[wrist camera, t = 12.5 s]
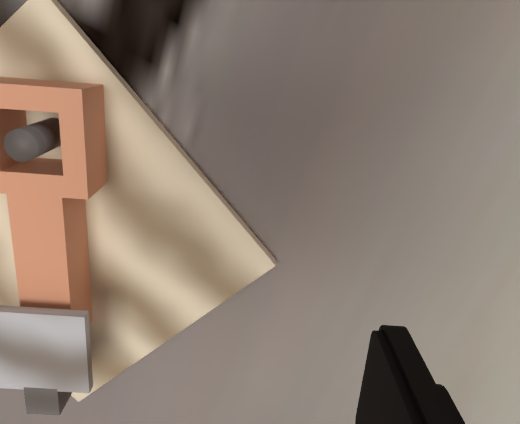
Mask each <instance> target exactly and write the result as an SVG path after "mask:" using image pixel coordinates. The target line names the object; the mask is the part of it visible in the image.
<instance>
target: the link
mask: <svg viewBox="0 0 520 424" xmlns="http://www.w3.org/2000/svg"><path fill="white" fill-rule="evenodd" d="M26 110H28V111H41V112H55V113H59V126H60V139H61V152H62V159H48V158H34V159H32V160H30V161H28V162H19V161H16V160H14V159H12V158H11V157H10V156H9V155H8V154H7V153H6V151H5V149H4V138H5V136H6V134H7V133H8V132H10V131H12V130H15V129H18V128H21V127H24V126H27V120H26ZM106 183H108V182H107V159H106V135H105V112H104V89H103V84H90V83H77V82H64V81H51V80H37V79H24V78H11V77H0V193H1V194H6V196H7V204H8V212H9V220H10V228H11V236H12V245H13V253H14V261H15V269H16V277H17V285H18V293H19V302H20V307H36V308H52V309H67V310H83V311H89V325H90V324H91V323H92V321H93V316H92V299H91V283H90V266H89V250H88V233H87V217H86V200H85V199H89V198H90V197H92V196H93V195H94V194H95V193H96V192H97V191H98V190H100V189H101V188H102V187H103V186H104V185H105V184H106Z"/></svg>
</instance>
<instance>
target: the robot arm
mask: <svg viewBox="0 0 520 424" xmlns="http://www.w3.org/2000/svg"><path fill="white" fill-rule="evenodd" d="M356 424H465V422H464V421H463V419H462V417H461V415H460V413H459V411H458V410H457V408H456V406H455V404H454V402H453V400H452V399H451V397H450V395H449V393H448V391H447V390H446V389H445V387H444V386H442V385H440V384H436V383H435V381H434V379H433V378H432V376H431V374H430V372H429V370H428V368H427V366H426V364H425V362H424V360H423V358H422V356H421V355H420V353H419V351H418V349H417V347H416V345H415V343H414V341H413V339H412V337H411V335H410V334H409V332H408V330H407V328H406V327H404V326H389V325H382V326H380V328H379V331H373V332H372V334H371V338H370V344H369V349H368V354H367V360H366V365H365V370H364V376H363V381H362V386H361V392H360V397H359V402H358V408H357V413H356Z"/></svg>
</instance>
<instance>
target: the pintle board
mask: <svg viewBox="0 0 520 424" xmlns="http://www.w3.org/2000/svg"><path fill="white" fill-rule="evenodd" d="M0 77H11V78H24V79H37V80H51V81H64V82H77V83H90V84H103V89H104V112H105V135H106V159H107V182H108V183H106V184H105V185H104V186H103V187H102V188H101V189H100V190H98V191H97V192H96V193H95V194H94V195H93V196H92V197H90V198H89V199H85V200H86V217H87V233H88V250H89V266H90V283H91V299H92V316H93V321H92V323H91V324H90V325H89V311H83V310H67V309H52V308H36V307H20V302H19V293H18V285H17V277H16V269H15V261H14V253H13V245H12V236H11V228H10V220H9V212H8V204H7V196H6V194H1V193H0V388H9V389H24V394H25V402H26V410H27V413H29V414H46V415H60V414H61V412H62V410H63V408H64V407H65V405H66V403H67V401H68V399H69V397H70V396H72V397H74V398H75V399H76V400H77V401H78V402H79V401H81V400H82V399H83V398H85V397H86V396H88V395H89V394H91V393H92V392H94V391H95V390H96V389H98V388H99V387H101V386H102V385H104V384H105V383H107V382H108V381H110V380H111V379H112V378H114V377H115V376H117V375H118V374H120V373H121V372H123V371H124V370H125V369H127V368H128V367H130V366H131V365H133V364H134V363H136V362H137V361H138V360H140V359H141V358H143V357H144V356H146V355H147V354H149V353H150V352H152V351H153V350H154V349H156V348H157V347H159V346H160V345H162V344H163V343H165V342H166V341H167V340H169V339H170V338H172V337H173V336H175V335H176V334H178V333H179V332H180V331H182V330H183V329H185V328H186V327H188V326H189V325H191V324H192V323H194V322H195V321H196V320H198V319H199V318H201V317H202V316H204V315H205V314H207V313H208V312H209V311H211V310H212V309H214V308H215V307H217V306H218V305H220V304H221V303H222V302H224V301H225V300H227V299H228V298H230V297H231V296H233V295H234V294H235V293H237V292H238V291H240V290H241V289H243V288H244V287H246V286H247V285H249V284H250V283H251V282H253V281H254V280H256V279H257V278H259V277H260V276H262V275H263V274H264V273H266V272H267V271H269V270H270V269H272V268H273V267H275V266H276V262H275V258H274V257H273V256H272V255H271V253H270V252H269V251H268V250H267V249H266V247H265V246H264V245H263V244H262V243H261V241H260V240H259V239H258V238H257V237H256V236H255V234H254V233H253V232H252V231H251V230H250V228H249V227H248V226H247V225H246V224H245V222H244V221H243V220H242V219H241V218H240V217H239V215H238V214H237V213H236V212H235V211H234V209H233V208H232V207H231V206H230V205H229V204H228V202H227V201H226V200H225V199H224V198H223V196H222V195H221V194H220V193H219V192H218V190H217V189H216V188H215V187H214V186H213V185H212V183H211V182H210V181H209V180H208V179H207V177H206V176H205V175H204V174H203V173H202V171H201V170H200V169H199V168H198V167H197V166H196V164H195V163H194V162H193V161H192V160H191V158H190V157H189V156H188V155H187V154H186V152H185V151H184V150H183V149H182V148H181V147H180V145H179V144H178V143H177V142H176V141H175V139H174V138H173V137H172V136H171V135H170V133H169V132H168V131H167V130H166V129H165V128H164V126H163V125H162V124H161V123H160V122H159V120H158V119H157V118H156V117H155V116H154V114H153V113H152V112H151V111H150V110H149V109H148V107H147V106H146V105H145V104H144V103H143V101H142V100H141V99H140V98H139V97H138V96H137V94H136V93H135V92H134V91H133V90H132V88H131V87H130V86H129V85H128V84H127V82H126V81H125V80H124V79H123V78H122V77H121V75H120V74H119V73H118V72H117V71H116V69H115V68H114V67H113V66H112V65H111V63H110V62H109V61H108V60H107V59H106V58H105V56H104V55H103V54H102V53H101V52H100V50H99V49H98V48H97V47H96V46H95V44H94V43H93V42H92V41H91V40H90V39H89V37H88V36H87V35H86V34H85V33H84V31H83V30H82V29H81V28H80V27H79V25H78V24H77V23H76V22H75V21H74V20H73V18H72V17H71V16H70V15H69V14H68V12H67V11H66V10H65V9H64V8H63V7H62V5H61V4H60V3H59V2H58V1H57V0H28V1H27V2H26V3H25V4H24V5H23V6H22V7H21V8H20V9H19V10H18V11H16V12H15V13H14V14H13V15H12V16H11V17H10V18H9V19H8V20H7V21H6V22H5V23H4V24H3V25H2V26H1V27H0ZM26 120H27V126H24V127H21V128H18V129H15V130H12V131H10V132H8V133H7V134H6V136H5V138H4V149H5V151H6V153H7V154H8V155H9V156H10V157H11V158H12V159H14V160H16V161H19V162H28V161H30V160H32V159H34V158H48V159H62V152H61V139H60V126H59V113H55V112H41V111H28V110H26Z"/></svg>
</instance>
